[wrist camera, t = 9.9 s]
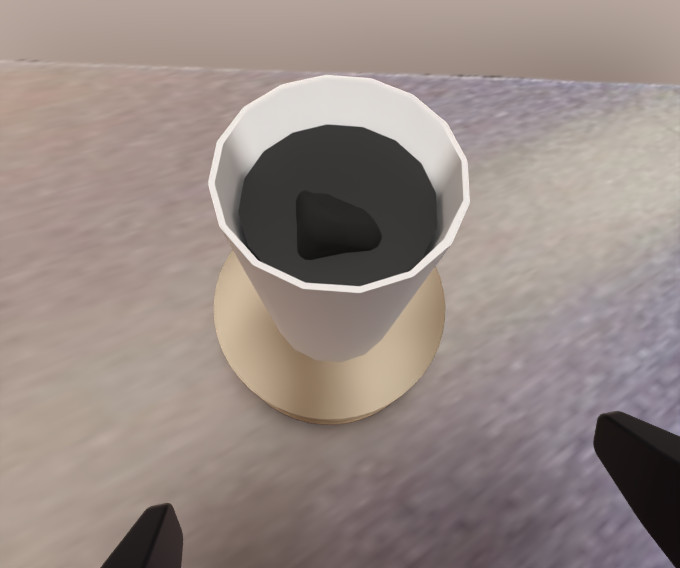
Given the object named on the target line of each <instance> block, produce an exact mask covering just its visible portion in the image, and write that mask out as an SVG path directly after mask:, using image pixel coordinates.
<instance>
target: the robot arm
mask: <svg viewBox="0 0 680 568" xmlns="http://www.w3.org/2000/svg"><path fill="white" fill-rule="evenodd" d="M593 445H594V449H595V452H596V454H597V456H598V457H599V459H600V461H601V462H602V464H603V465H604V467H605V468H606V470H607V471H608V473H609V474H610V476H611V478H612V479H613V481H614V482H615V484H616V485H617V487H618V488H619V490H620V491H621V493H622V494H623V496H624V498H625V499H626V501H627V502H628V504H629V505H630V507H631V508H632V510H633V511H634V513H635V514H636V516H637V517H638V519H639V520H640V522H641V523H642V525H643V526H644V527H645V529H646V530H647V531H648V533H649V534H650V535H651V537H652V538H653V539H654V540H655V542H656V543H657V544H658V546H659V547H660V548H661V549H662V551H663V552H664V553H665V555H666V556H667V557H668V559H669V560H670V561H671V562H672V564H673V565H674V566H675V568H680V436H677V435H675V434H673V433H670V432H668V431H666V430H663V429H661V428H659V427H656V426H654V425H652V424H649V423H647V422H645V421H642V420H640V419H638V418H635V417H633V416H630V415H628V414H626V413H623V412H620V411H613V412H609V413H604V414H601V415H600V416H599V417H598V419H597V424H596V430H595V435H594V441H593ZM182 550H183V534H182V529H181V527H180V524H179V521H178V519H177V516H176V514H175V511H174V508H173V506H172V505H171V504H170V503H164V504H159V505H155V506H151V507H149V508H147V509H146V510H145V511H144V513H143V514H142V515H141V516H140V518H139V519H138V520H137V522H136V523H135V524H134V525H133V527H132V528H131V529H130V531H129V532H128V533H127V534H126V536H125V537H124V538H123V539H122V541H121V542H120V543H119V545H118V546H117V547H116V548H115V550H114V551H113V552H112V554H111V555H110V556H109V557H108V559H107V560H106V561H105V563H104V564H103V565H102V566H101V568H181V562H182Z"/></svg>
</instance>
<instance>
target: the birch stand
mask: <svg viewBox="0 0 680 568" xmlns="http://www.w3.org/2000/svg"><path fill="white" fill-rule="evenodd" d="M214 322H215V327H216V332H217V337H218V340H219V343H220V346H221V348H222V351H223V353H224V355H225V357H226V359H227V361H228V363H229V364H230V366H231V367H232V369H233V370H234V372H235V373H236V374H237V376H238V377H239V378H240V379H241V380H242V381H243V382H244V383H245V384H246V385H247V387H248V388H249V389H251V390H252V391H253V392H254V393H256V394H257V395H258V396H259V397H260V398H261V399H262V400H264V401H265V402H266V403H267V404H269V405H270V406H271V407H273V408H274V409H276V410H278V411H279V412H281V413H283V414H285V415H287V416H289V417H292V418H294V419H297V420H300V421H304V422H308V423H314V424H322V425H335V424H344V423H350V422H354V421H357V420H361V419H364V418H366V417H369V416H371V415H373V414H375V413H377V412H379V411H380V410H382V409H383V408H385V407H387V406H388V405H390V404H391V403H392V402H393V401H394V400H396V399H398V398H399V397H400V396H402V395H403V394H404V393H405V392H406V391H407V390H409V389H410V388H411V387H412V386H413V385H414V384H415V383H416V382H417V381H418V380H419V378H420V377H421V376H422V375H423V374H424V372H425V371H426V369H427V368H428V366H429V365H430V363H431V362H432V360H433V358H434V356H435V353H436V351H437V349H438V347H439V344H440V340H441V337H442V334H443V328H444V322H445V299H444V291H443V287H442V283H441V279H440V276H439V273H438V271H437V269H436V266H435V268H434V269H433V270H432V272H431V273H430V274H429V276H428V277H427V279H426V280H425V281H424V283H423V284H422V285H421V287H420V288H419V290H418V291H417V292H416V294H415V295H414V296H413V298H412V299H411V300H410V302H409V303H408V305H407V306H406V307H405V309H404V310H403V311H402V313H401V314H400V316H399V317H398V318H397V320H396V321H395V322H394V324H393V325H392V327H391V328H390V329H389V331H388V332H387V333H386V335H385V336H384V338H383V339H382V340H381V341H380V342H379V343H377V344H376V345H375V346H374V347H373V348H372V349H371V350H369V351H368V352H367V353H366V354H365V355H362V356H359V357H356V358H353V359H350V360H347V361H344V362H330V361H316V360H314V359H312V358H310V357H308V356H306V355H304V354H302V353H300V352H298V351H296V350H294V348H293V347H292V346H291V345H290V344H289V343H288V341H287V340H286V339H285V338H284V337H283V335H282V334H281V333H280V332H279V330H278V328H277V327H276V325H275V323H274V321H273V320H272V318H271V316H270V314H269V313H268V311H267V309H266V307H265V306H264V304H263V302H262V300H261V299H260V297H259V295H258V293H257V292H256V290H255V288H254V286H253V285H252V283H251V281H250V279H249V278H248V276H247V274H246V272H245V271H244V269H243V267H242V265H241V264H240V262H239V260H238V258H237V257H236V255H235V253H234V251H233V250H232V251H231V253H230V254H229V256H228V258H227V260H226V262H225V264H224V265H223V268H222V271H221V273H220V276H219V278H218V282H217V287H216V291H215V299H214Z"/></svg>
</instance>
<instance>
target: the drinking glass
mask: <svg viewBox="0 0 680 568" xmlns="http://www.w3.org/2000/svg"><path fill="white" fill-rule="evenodd" d="M208 185H209V189H210V193H211V196H212V200H213V204H214V208H215V211H216V215H217V219H218V223H219V226H220V228H221V230H222V232H223V234H224V235H225V237H226V239H227V241H228V242H229V244H230V246H231V248H232V250H233V251H234V253H235V255H236V257H237V258H238V260H239V262H240V264H241V265H242V267H243V269H244V271H245V272H246V274H247V276H248V278H249V279H250V281H251V283H252V285H253V286H254V288H255V290H256V292H257V293H258V295H259V297H260V299H261V300H262V302H263V304H264V306H265V307H266V309H267V311H268V313H269V314H270V316H271V318H272V320H273V321H274V323H275V325H276V327H277V328H278V330H279V332H280V333H281V334H282V335H283V337H284V338H285V339H286V340H287V341H288V343H289V344H290V345H291V346H292V347H293V348H294V350H296V351H298V352H300V353H302V354H304V355H306V356H308V357H310V358H312V359H314V360H316V361H330V362H344V361H347V360H350V359H353V358H356V357H359V356H362V355H365V354H366V353H367V352H368V351H369V350H371V349H372V348H373V347H374V346H375V345H376V344H377V343H379V342H380V341H381V340H382V339H383V338H384V336H385V335H386V333H387V332H388V331H389V329H390V328H391V327H392V325H393V324H394V322H395V321H396V320H397V318H398V317H399V316H400V314H401V313H402V311H403V310H404V309H405V307H406V306H407V305H408V303H409V302H410V300H411V299H412V298H413V296H414V295H415V294H416V292H417V291H418V290H419V288H420V287H421V285H422V284H423V283H424V281H425V280H426V279H427V277H428V276H429V274H430V273H431V272H432V270H433V269H434V268H435V266H436V265H437V263H438V262H439V261H440V259H441V258H442V257H443V255H444V254H445V252H446V251H447V250H448V248H449V247H450V246H451V244H452V242H453V240H454V238H455V235H456V233H457V231H458V228H459V226H460V224H461V222H462V219H463V217H464V215H465V213H466V210H467V208H468V206H469V203H470V198H469V181H468V164H467V159H466V157H465V155H464V153H463V152H462V150H461V148H460V146H459V144H458V142H457V141H456V139H455V137H454V135H453V133H452V131H451V130H450V128H449V126H448V124H447V123H446V122H445V121H444V120H443V119H442V118H440V117H439V116H438V115H437V114H436V113H434V112H433V111H432V110H431V109H430V108H428V107H427V106H426V105H425V104H424V103H422V102H421V101H420V100H419V99H418V98H416V97H415V96H414V95H412V94H410V93H407V92H405V91H402V90H400V89H397V88H395V87H392V86H389V85H387V84H384V83H382V82H379V81H377V80H374V79H371V78H360V77H347V76H334V75H322V76H318V77H314V78H309V79H305V80H300V81H296V82H291V83H287V84H282V85H280V86H278V87H276V88H275V89H273V90H271V91H270V92H268V93H267V94H265V95H263V96H262V97H260V98H258V99H257V100H255V101H253V102H252V103H250V104H248V105H247V106H245V107H243V108H242V110H241V111H240V112H239V114H238V115H237V116H236V118H235V119H234V120H233V121H232V123H231V124H230V125H229V127H228V128H227V129H226V131H225V132H224V133H223V135H222V136H221V137H220V138H219V140H218V141H217V144H216V149H215V153H214V158H213V163H212V167H211V172H210V176H209V181H208Z"/></svg>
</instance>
